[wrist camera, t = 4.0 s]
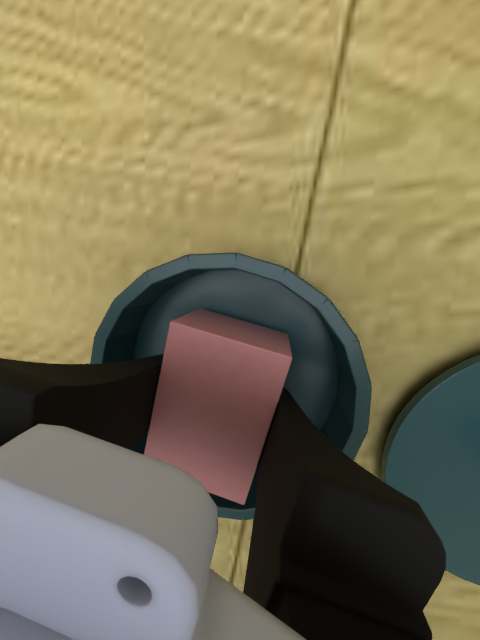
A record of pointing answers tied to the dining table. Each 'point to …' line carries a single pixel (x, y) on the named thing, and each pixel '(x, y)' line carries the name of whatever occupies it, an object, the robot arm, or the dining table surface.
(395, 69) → the dining table surface
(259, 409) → the soap
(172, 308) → the tin
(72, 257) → the dining table surface
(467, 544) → the lid
